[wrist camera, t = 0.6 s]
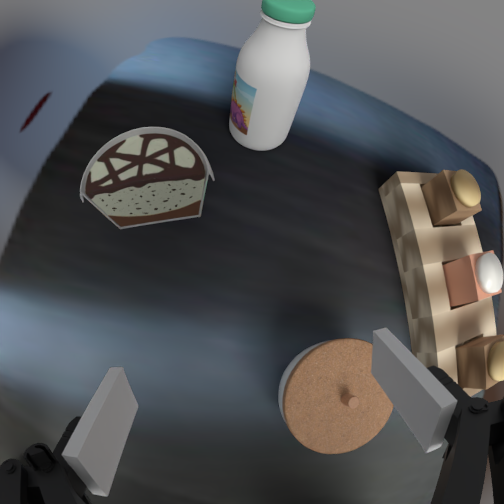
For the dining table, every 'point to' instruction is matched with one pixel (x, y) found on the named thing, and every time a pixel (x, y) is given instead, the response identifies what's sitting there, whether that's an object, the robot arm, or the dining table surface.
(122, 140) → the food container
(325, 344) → the lidded jar
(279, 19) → the milk bottle
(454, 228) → the button mount
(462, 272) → the middle button
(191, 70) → the dining table surface
